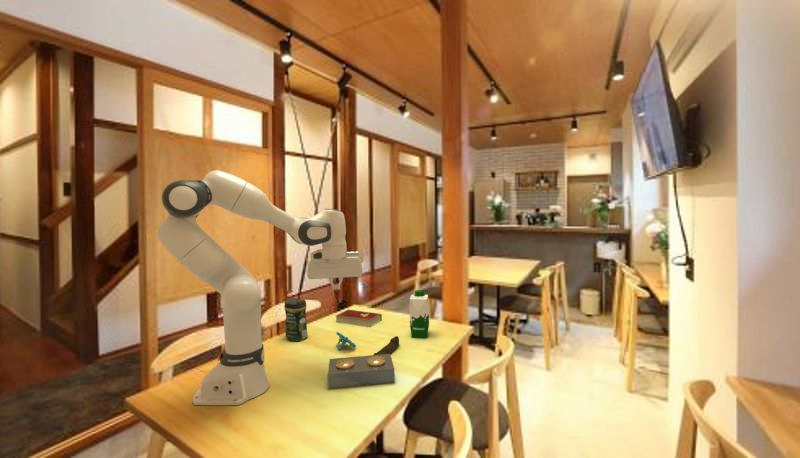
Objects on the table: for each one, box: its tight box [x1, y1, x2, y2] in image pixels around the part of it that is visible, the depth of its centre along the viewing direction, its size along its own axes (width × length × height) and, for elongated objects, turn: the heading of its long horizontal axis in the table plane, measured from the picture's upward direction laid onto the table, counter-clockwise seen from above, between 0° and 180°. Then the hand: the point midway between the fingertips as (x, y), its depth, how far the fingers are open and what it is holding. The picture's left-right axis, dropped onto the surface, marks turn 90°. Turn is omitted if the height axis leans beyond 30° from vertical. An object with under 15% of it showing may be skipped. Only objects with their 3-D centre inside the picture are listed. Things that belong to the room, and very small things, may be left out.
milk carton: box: [408, 289, 430, 339], centre depth 161 cm, size 9×9×20 cm
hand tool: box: [373, 335, 400, 355], centre depth 142 cm, size 19×4×5 cm, turn 152°
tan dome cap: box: [367, 356, 385, 366], centre depth 124 cm, size 6×6×5 cm
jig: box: [327, 353, 396, 390], centre depth 123 cm, size 22×12×6 cm, turn 98°
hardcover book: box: [334, 309, 383, 328], centre depth 183 cm, size 12×21×4 cm, turn 64°
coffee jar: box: [284, 297, 309, 342], centre depth 161 cm, size 10×8×19 cm
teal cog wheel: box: [335, 331, 357, 351], centre depth 148 cm, size 11×6×10 cm
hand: (336, 289), depth 131 cm, fingers closed
